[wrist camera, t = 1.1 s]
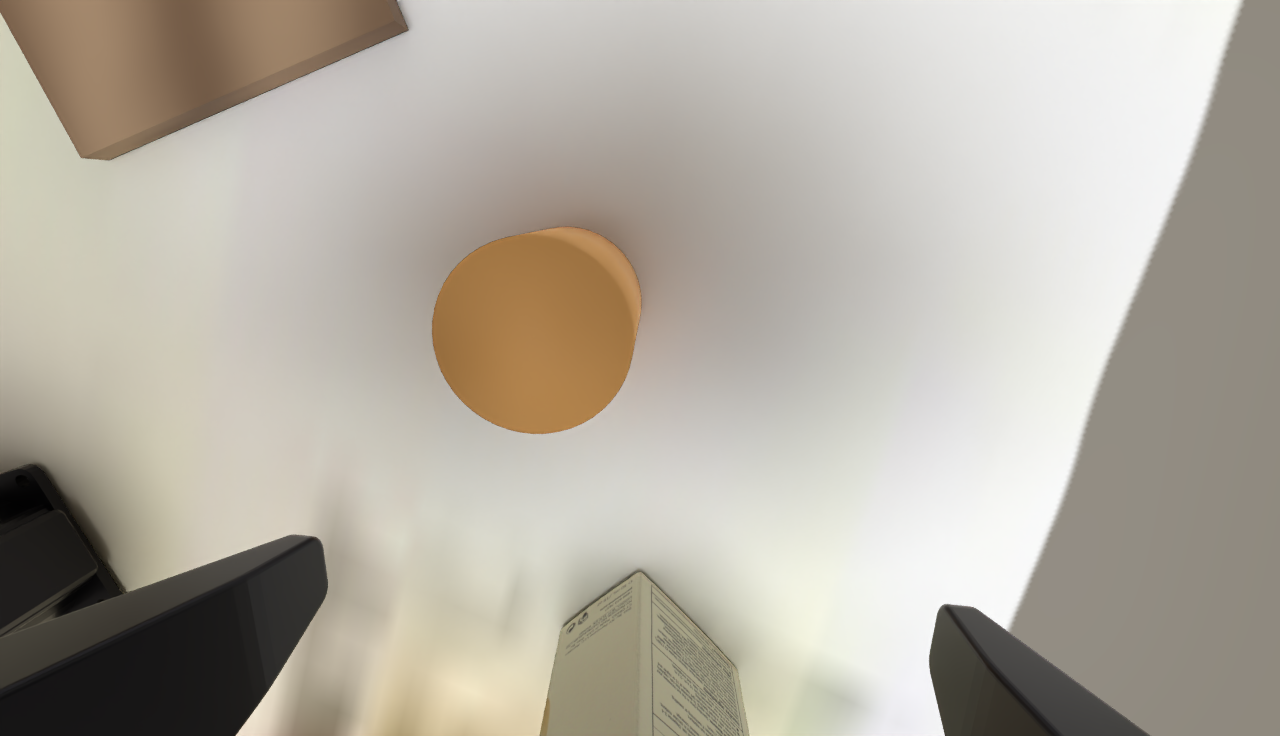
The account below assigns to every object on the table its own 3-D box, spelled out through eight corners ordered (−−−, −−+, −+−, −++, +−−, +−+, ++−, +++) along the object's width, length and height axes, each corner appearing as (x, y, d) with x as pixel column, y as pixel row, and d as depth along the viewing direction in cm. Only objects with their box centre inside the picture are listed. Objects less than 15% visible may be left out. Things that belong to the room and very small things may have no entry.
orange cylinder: (528, 391, 22) (481, 458, 16) (471, 257, 21) (398, 277, 15) (662, 345, 21) (661, 397, 16) (610, 204, 20) (589, 204, 14)
